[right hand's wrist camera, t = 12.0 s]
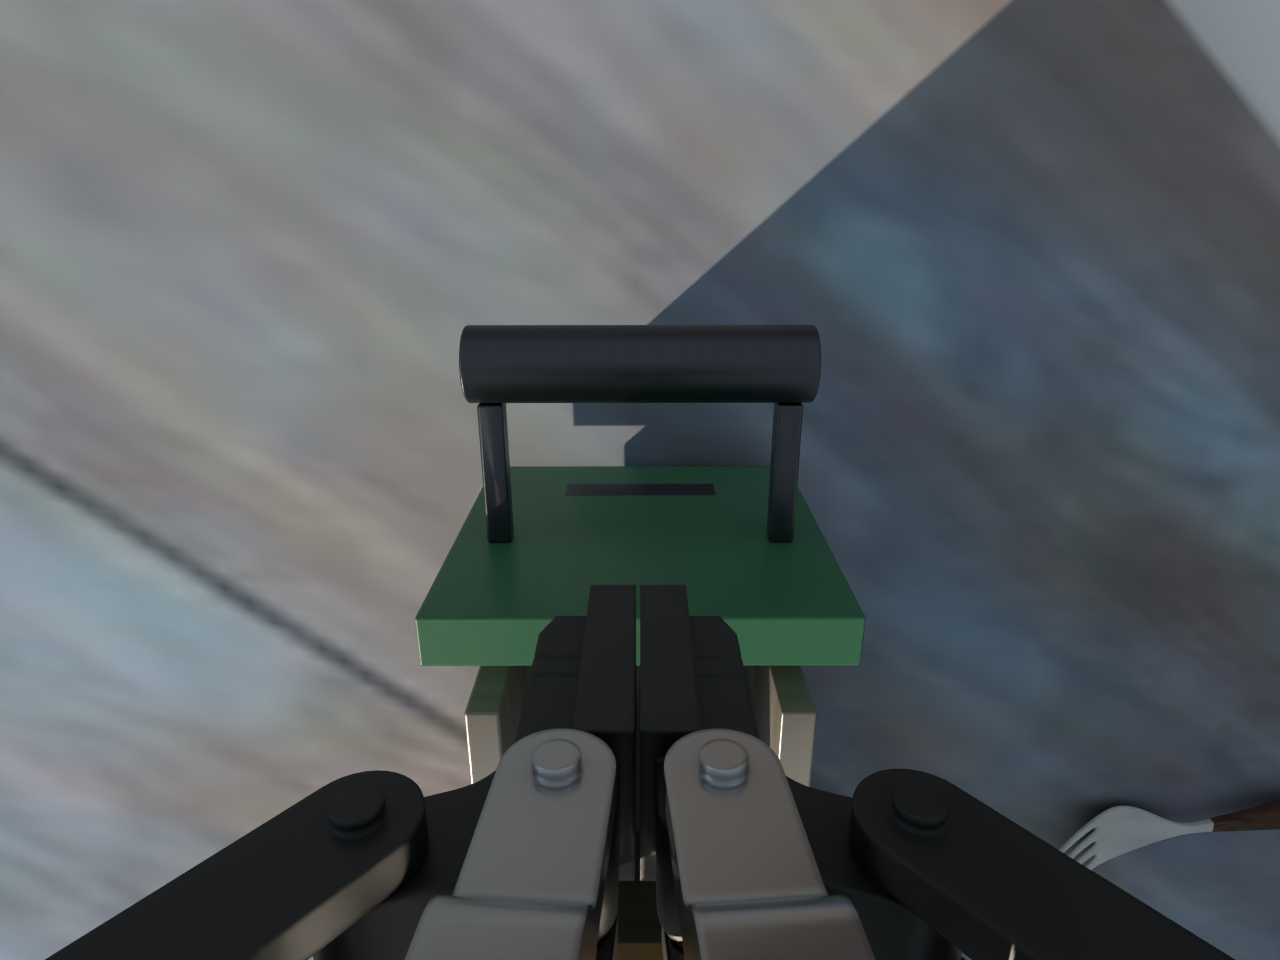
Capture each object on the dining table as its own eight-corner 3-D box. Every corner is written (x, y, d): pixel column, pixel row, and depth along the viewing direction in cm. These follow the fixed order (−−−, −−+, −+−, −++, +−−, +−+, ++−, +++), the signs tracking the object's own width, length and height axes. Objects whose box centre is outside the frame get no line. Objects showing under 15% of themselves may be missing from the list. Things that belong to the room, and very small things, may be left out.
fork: (1438, 806, 31) (1489, 846, 29) (1028, 865, 32) (1052, 908, 30) (1449, 753, 30) (1503, 791, 28) (1027, 816, 31) (1051, 857, 29)
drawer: (480, 294, 23) (383, 362, 14) (799, 294, 23) (896, 361, 14) (518, 825, 30) (469, 1086, 22) (762, 825, 30) (812, 1086, 22)
